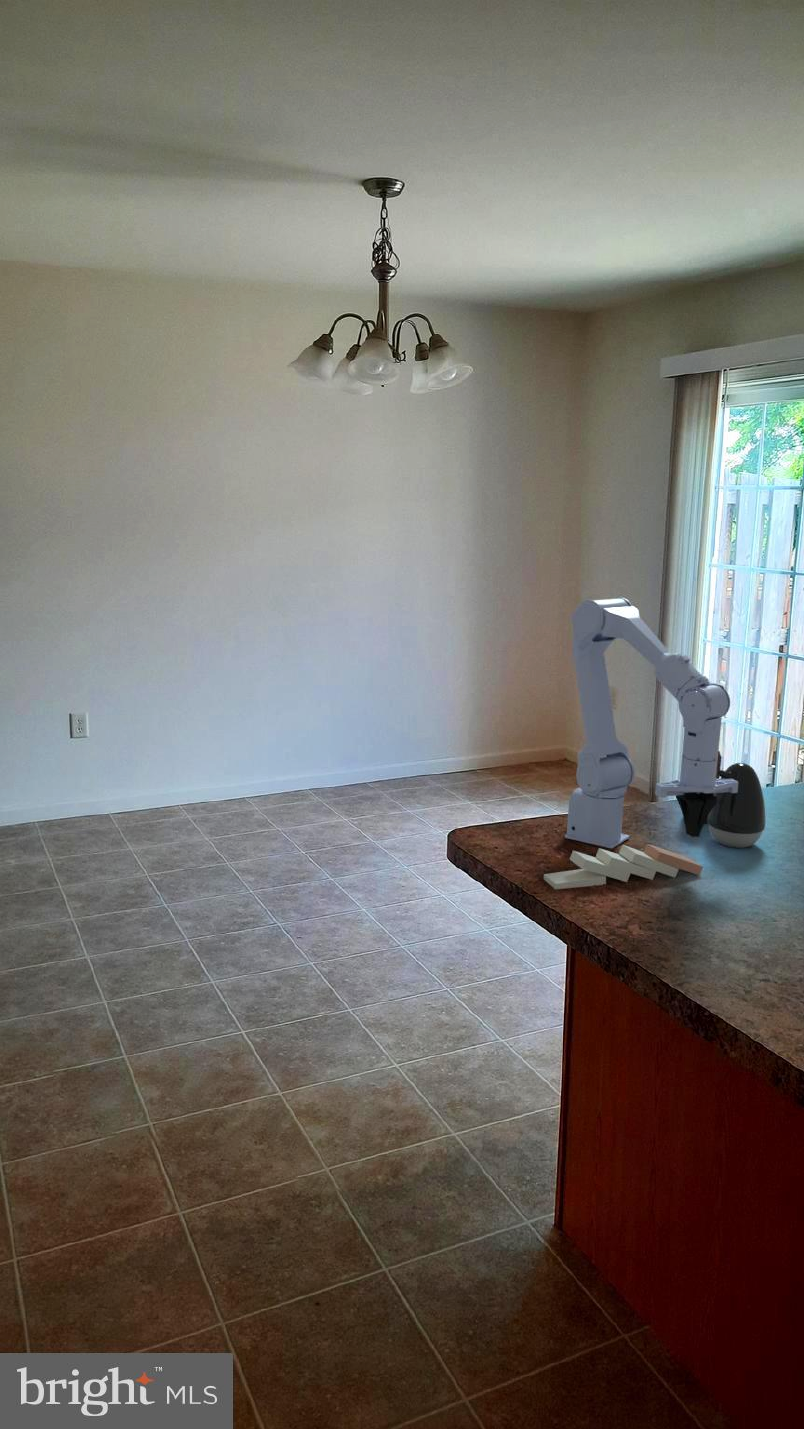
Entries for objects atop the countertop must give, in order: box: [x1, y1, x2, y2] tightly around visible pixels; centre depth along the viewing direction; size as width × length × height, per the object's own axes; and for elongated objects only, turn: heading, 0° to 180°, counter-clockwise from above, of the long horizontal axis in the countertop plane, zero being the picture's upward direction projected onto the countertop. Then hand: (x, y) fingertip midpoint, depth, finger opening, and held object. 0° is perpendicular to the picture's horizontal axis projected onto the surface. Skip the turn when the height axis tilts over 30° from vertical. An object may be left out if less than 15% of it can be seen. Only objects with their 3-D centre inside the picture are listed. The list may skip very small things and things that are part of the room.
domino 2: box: [569, 850, 632, 883], centre depth 173 cm, size 2×4×9 cm
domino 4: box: [618, 844, 680, 879], centre depth 175 cm, size 2×4×9 cm
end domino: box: [642, 843, 704, 876], centre depth 177 cm, size 2×4×9 cm
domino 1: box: [543, 868, 607, 890], centre depth 172 cm, size 2×4×9 cm
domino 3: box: [595, 847, 657, 881], centre depth 174 cm, size 2×4×9 cm
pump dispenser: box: [707, 762, 766, 849], centre depth 191 cm, size 10×10×15 cm
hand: (692, 835), depth 177 cm, fingers closed
